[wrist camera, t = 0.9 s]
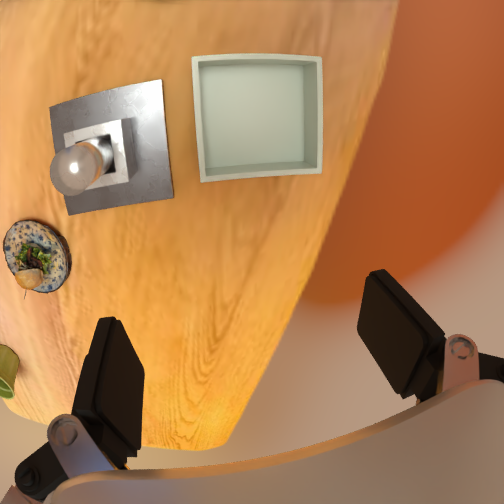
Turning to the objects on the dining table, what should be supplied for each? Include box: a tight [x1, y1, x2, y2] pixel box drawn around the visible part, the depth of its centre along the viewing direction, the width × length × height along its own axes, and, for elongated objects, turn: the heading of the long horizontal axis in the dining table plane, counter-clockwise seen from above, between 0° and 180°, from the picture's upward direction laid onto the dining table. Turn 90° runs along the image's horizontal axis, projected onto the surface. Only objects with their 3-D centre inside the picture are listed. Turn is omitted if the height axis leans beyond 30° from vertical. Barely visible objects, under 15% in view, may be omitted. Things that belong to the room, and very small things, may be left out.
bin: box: [192, 53, 323, 183], centre depth 29 cm, size 13×13×5 cm
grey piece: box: [50, 118, 137, 196], centre depth 24 cm, size 6×6×11 cm
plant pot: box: [0, 345, 19, 399], centre depth 36 cm, size 9×9×9 cm
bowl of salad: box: [3, 220, 72, 298], centre depth 30 cm, size 12×12×8 cm
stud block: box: [49, 79, 174, 215], centre depth 27 cm, size 14×14×5 cm
